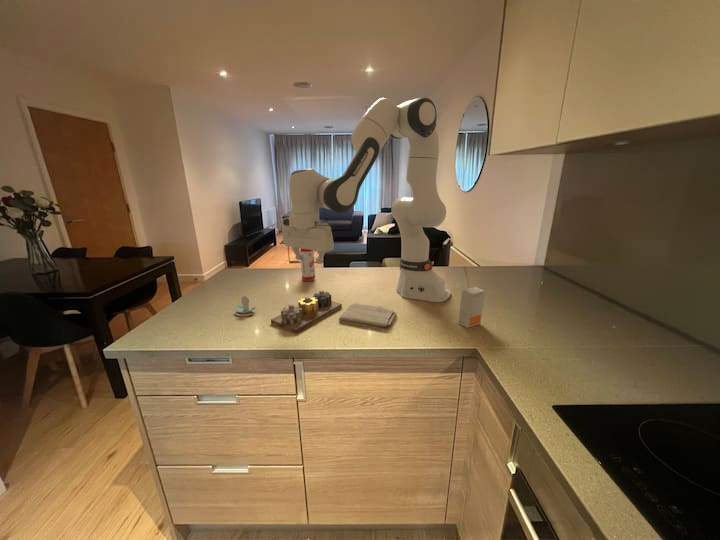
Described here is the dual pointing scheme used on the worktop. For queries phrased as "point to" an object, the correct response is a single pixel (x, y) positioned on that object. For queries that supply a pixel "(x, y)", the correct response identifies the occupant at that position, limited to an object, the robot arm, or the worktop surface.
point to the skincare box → (471, 307)
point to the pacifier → (244, 307)
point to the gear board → (298, 322)
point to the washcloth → (368, 316)
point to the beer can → (307, 264)
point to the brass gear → (308, 306)
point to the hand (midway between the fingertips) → (309, 261)
